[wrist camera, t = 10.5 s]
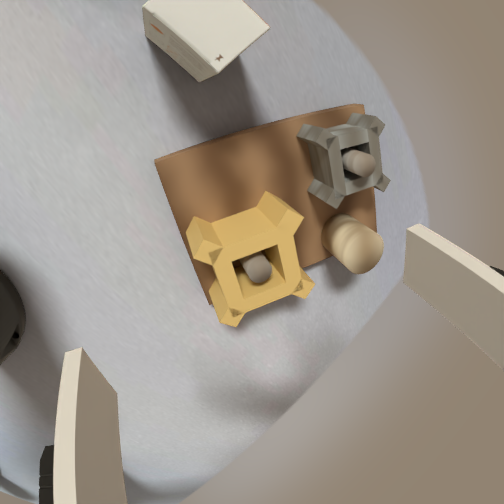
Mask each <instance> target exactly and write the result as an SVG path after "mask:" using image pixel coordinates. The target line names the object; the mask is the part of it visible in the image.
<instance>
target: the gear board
mask: <svg viewBox="0 0 504 504" xmlns="http://www.w3.org/2000/svg"><path fill="white" fill-rule="evenodd" d="M384 126H385V124H384V123H383V122H382V121H381V120H379V119H378V118H377V117H376V116H371V115H365V110H364V105H362V104H350V105H344V106H339V107H334V108H330V109H325V110H320V111H316V112H311V113H307V114H303V115H298V116H294V117H290V118H286V119H282V120H278V121H274V122H271V123H267V124H263V125H260V126H256V127H252V128H249V129H245V130H242V131H239V132H235V133H232V134H229V135H225V136H222V137H219V138H216V139H213V140H209V141H206V142H203V143H200V144H197V145H194V146H191V147H188V148H186V149H183V150H180V151H177V152H174V153H171V154H169V155H166V156H163V157H161V158H158V159H155V160H154V161H155V166H156V168H157V171H158V174H159V177H160V180H161V182H162V185H163V188H164V191H165V194H166V196H167V199H168V202H169V204H170V207H171V210H172V212H173V215H174V218H175V220H176V223H177V226H178V228H179V231H180V233H181V236H182V239H183V241H184V244H185V246H186V249H187V251H188V254H189V256H190V259H191V261H192V264H193V266H194V269H195V271H196V274H197V276H198V279H199V281H200V283H201V286H202V288H203V291H204V293H205V295H206V298H207V300H208V303H209V305H211V304H213V302H212V300H211V297H210V294H209V289H210V288H211V286H212V284H213V282H214V281H215V279H216V275H215V273H214V270H213V267H212V265H210V264H207V263H204V262H202V261H199V260H196V259H194V258H193V255H192V252H191V248H190V245H189V242H188V239H187V235H186V231H187V229H188V227H189V225H190V223H191V221H192V219H193V217H194V216H195V217H198V218H200V219H203V220H205V221H207V222H210V223H212V222H215V221H218V220H221V219H223V218H226V217H229V216H232V215H234V214H237V213H240V212H243V211H246V210H249V209H251V208H254V207H256V206H257V205H258V203H259V201H260V199H261V198H262V196H263V194H264V192H265V191H267V192H269V193H271V194H273V195H275V196H276V197H278V198H280V199H281V200H283V201H284V202H285V203H287V204H288V205H289V206H290V207H292V208H293V209H294V210H295V211H297V212H298V213H299V214H300V215H302V216H303V217H304V219H303V220H302V222H301V224H300V225H299V227H298V229H297V230H296V232H295V233H294V235H293V237H294V242H295V247H296V252H297V257H298V262H299V266H300V267H301V268H304V267H307V266H309V265H312V264H314V263H317V262H319V261H321V260H324V259H326V258H329V257H331V256H335V257H336V258H337V259H338V260H339V261H340V262H341V263H342V264H343V265H344V266H345V267H347V268H348V269H349V270H350V271H351V272H352V273H355V274H363V273H366V272H368V271H370V270H371V269H372V268H373V267H375V265H376V264H377V263H378V262H379V260H380V258H381V256H382V253H383V248H384V244H383V240H382V238H381V236H380V235H379V234H377V226H376V209H375V195H374V188H376V189H379V190H381V191H383V192H384V191H385V189H386V187H387V186H388V184H389V182H390V179H389V178H387V177H386V176H385V175H384V174H383V173H382V163H381V153H380V144H379V135H380V134H381V132H382V130H383V128H384ZM265 256H266V253H265V249H264V250H261V251H258V252H256V253H253V254H251V255H248V256H245V257H243V258H240V259H237V260H235V261H232V265H233V268H236V267H239V266H243V268H244V269H245V271H246V273H247V274H248V276H249V278H250V279H251V280H252V281H253V282H256V283H261V282H264V281H266V280H267V279H268V278H269V277H270V276H271V274H272V266H271V265H270V263H269V262H268V260H267V259H266V258H265Z"/></svg>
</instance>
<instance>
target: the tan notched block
mask: <svg viewBox="0 0 504 504" xmlns="http://www.w3.org/2000/svg"><path fill="white" fill-rule="evenodd" d="M303 219H304V217H303V216H302V215H300V214H299V213H298V212H297V211H295V210H294V209H293V208H292V207H290V206H289V205H288V204H287V203H285V202H284V201H283V200H281V199H280V198H278V197H276V196H275V195H273V194H271V193H269V192H267V191H265V192H264V194H263V196H262V198H261V199H260V201H259V203H258V205H257V206H256V207H254V208H251V209H249V210H246V211H243V212H240V213H237V214H234V215H232V216H229V217H226V218H223V219H221V220H218V221H215V222H212V223H210V222H207V221H205V220H203V219H200V218H198V217H195V216H194V217H193V219H192V221H191V223H190V225H189V227H188V229H187V231H186V235H187V239H188V242H189V245H190V248H191V252H192V255H193V258H194V259H196V260H199V261H202V262H204V263H207V264H210V265H212V267H213V270H214V273H215V275H216V279H215V281H214V282H213V284H212V286H211V288H210V289H209V294H210V297H211V300H212V302H213V305H214V308H215V311H216V314H217V316H218V319H219V322H220V323H223V324H227V325H230V326H234V327H237V325H238V324H239V322H240V320H241V319H242V317H243V316H244V314H245V313H246V312H248V311H251V310H253V309H256V308H258V307H261V306H263V305H266V304H268V303H271V302H273V301H276V300H278V299H281V298H283V297H286V296H288V295H290V294H293V295H295V296H298V297H301V298H304V299H306V297H307V296H308V294H309V293H310V291H311V290H312V288H313V287H314V285H315V283H314V282H313V281H312V280H311V279H310V277H309V276H308V275H307V274H306V273H305V272H304V271H303V269H302V268H301V267H300V266H299V262H298V257H297V252H296V247H295V242H294V237H293V235H294V233H295V232H296V230H297V229H298V227H299V225H300V224H301V222H302V220H303ZM264 249H265V253H266V256H265V258H266V259H267V260H268V262H269V263H270V265H271V266H272V274H271V276H270V277H269V278H268V279H267V280H266V281H264V282H261V283H256V282H253V281H252V280H251V279H250V278H249V276H248V274H247V273H246V271H245V269H244V268H243V266H239V267H236V268H233V265H232V261H235V260H237V259H240V258H243V257H245V256H248V255H251V254H253V253H256V252H258V251H261V250H264Z"/></svg>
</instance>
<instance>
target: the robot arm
mask: <svg viewBox="0 0 504 504" xmlns="http://www.w3.org/2000/svg"><path fill="white" fill-rule="evenodd" d="M403 283H405V284H406V285H407V286H408V287H409V288H411V289H412V290H413V291H414V292H416V293H417V294H418V295H419V296H420V297H421V298H423V299H424V300H425V301H426V302H427V303H429V304H430V305H431V306H432V307H433V308H434V309H436V310H437V311H438V312H439V313H440V314H442V315H443V316H444V317H445V318H446V319H447V320H449V321H450V322H451V323H452V324H453V325H454V326H455V327H457V328H458V329H459V330H460V331H461V332H462V333H463V334H464V335H466V336H467V337H468V338H469V339H470V340H471V341H472V342H473V343H474V344H476V345H477V346H478V347H479V348H480V349H481V350H482V351H483V352H484V353H485V354H486V355H488V357H490V358H491V359H492V360H493V361H494V362H495V363H496V364H497V365H498V366H499V367H500V368H501V369H502V370H503V371H504V271H502V270H500V269H497V268H494V267H492V266H487V265H486V264H484V263H483V262H481V261H480V260H478V259H477V258H475V257H474V256H472V255H470V254H469V253H467V252H466V251H464V250H463V249H461V248H459V247H458V246H456V245H455V244H453V243H451V242H450V241H448V240H446V239H445V238H443V237H441V236H440V235H438V234H436V233H435V232H433V231H431V230H430V229H428V228H426V227H424V226H423V225H421V224H417V225H414V226H412V227H410V228H407V231H406V250H405V265H404V277H403ZM25 322H26V318H25V310H24V306H23V303H22V300H21V298H20V296H19V294H18V292H17V290H16V288H15V287H14V285H13V284H12V283H11V281H10V280H9V279H8V277H7V276H6V275H5V274H4V273H3V272H2V271H1V270H0V365H1V364H2V363H3V362H4V361H5V360H6V359H7V358H8V357H9V355H10V354H11V353H12V352H13V351H14V350H15V349H16V348H17V346H18V345H19V343H20V340H21V338H22V335H23V332H24V329H25ZM40 476H41V477H39V486H40V489H39V504H128V503H127V497H126V490H125V483H124V475H123V467H122V458H121V447H120V435H119V421H118V402H117V393H116V391H115V390H114V389H113V388H112V386H111V385H110V384H109V383H108V381H107V380H106V379H105V378H104V376H103V375H102V374H101V372H100V371H99V370H98V368H97V367H96V366H95V364H94V363H93V362H92V360H91V359H90V358H89V356H88V355H87V354H86V352H85V351H84V349H83V348H82V347H81V348H78V349H75V350H72V351H68V352H65V356H64V362H63V368H62V374H61V381H60V389H59V397H58V406H57V415H56V427H55V441H54V445H51V446H45V449H44V451H43V454H42V457H41V459H40Z"/></svg>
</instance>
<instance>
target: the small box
mask: <svg viewBox="0 0 504 504" xmlns="http://www.w3.org/2000/svg"><path fill="white" fill-rule="evenodd" d="M142 11H143V21H144V29H145V36H146V37H148V38H149V39H150V40H151V41H152V42H154V43H155V44H156V45H157V46H158V47H160V48H161V49H162V50H163V51H164V52H165V53H167V54H168V55H169V56H170V57H171V58H172V59H173V60H175V61H176V62H177V63H178V64H179V65H180V66H181V67H183V68H184V69H185V70H186V71H187V72H188V73H189V74H190V75H191V76H193V77H194V78H195V79H196V80H197V81H198V82H202V81H204V80H206V79H208V78H210V77H212V76H215V75H216V74H219V73H220V72H221V71H222V70H223V69H224V68H225V67H226V66H227V65H229V64H230V63H231V62H232V61H233V60H234V59H235V58H236V57H238V56H239V55H240V54H241V53H242V52H243V51H244V50H246V49H247V48H248V47H249V46H250V45H251V44H252V43H254V42H255V41H256V40H257V39H258V38H260V37H261V36H262V35H263V34H264V33H266V32H267V31H268V30H269V29H270V26H269V25H268V24H267V23H266V22H265V21H264V20H263V19H262V18H261V17H260V16H259V15H258V14H257V13H256V12H255V11H253V10H252V9H251V8H250V7H249V6H248V5H247V4H246V3H245V2H244V1H243V0H149V1H148V2H146V3H145V4H144V5H143V6H142Z"/></svg>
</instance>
